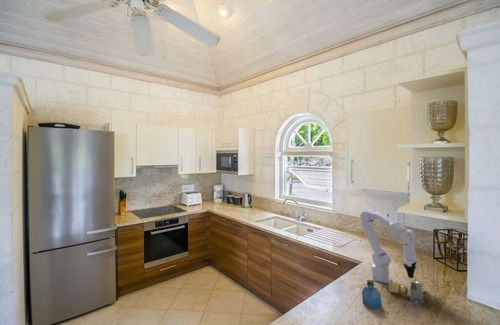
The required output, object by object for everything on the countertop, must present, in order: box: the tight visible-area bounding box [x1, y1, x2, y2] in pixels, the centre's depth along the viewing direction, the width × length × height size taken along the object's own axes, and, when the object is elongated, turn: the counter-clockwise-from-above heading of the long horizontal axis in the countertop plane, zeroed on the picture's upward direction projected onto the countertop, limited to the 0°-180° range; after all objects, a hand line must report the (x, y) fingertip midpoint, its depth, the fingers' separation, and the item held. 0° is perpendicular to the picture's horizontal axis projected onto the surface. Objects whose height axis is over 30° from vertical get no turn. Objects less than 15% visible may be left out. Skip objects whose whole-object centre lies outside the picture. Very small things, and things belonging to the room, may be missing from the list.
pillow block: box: [409, 281, 424, 307], centre depth 127 cm, size 5×16×6 cm, turn 142°
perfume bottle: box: [361, 279, 382, 310], centre depth 124 cm, size 6×6×12 cm
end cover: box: [388, 281, 409, 295], centre depth 132 cm, size 9×5×5 cm, turn 52°
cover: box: [414, 280, 426, 293], centre depth 135 cm, size 5×5×4 cm
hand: (411, 275), depth 135 cm, fingers open, 7 cm apart
